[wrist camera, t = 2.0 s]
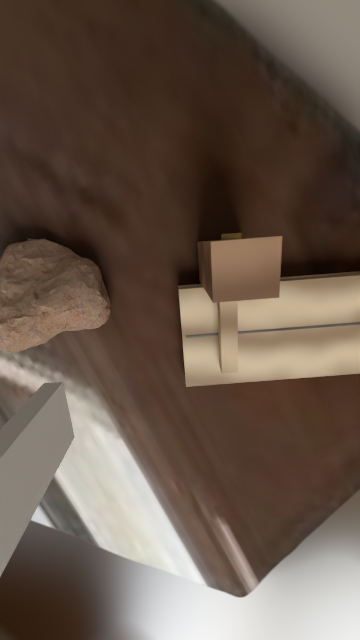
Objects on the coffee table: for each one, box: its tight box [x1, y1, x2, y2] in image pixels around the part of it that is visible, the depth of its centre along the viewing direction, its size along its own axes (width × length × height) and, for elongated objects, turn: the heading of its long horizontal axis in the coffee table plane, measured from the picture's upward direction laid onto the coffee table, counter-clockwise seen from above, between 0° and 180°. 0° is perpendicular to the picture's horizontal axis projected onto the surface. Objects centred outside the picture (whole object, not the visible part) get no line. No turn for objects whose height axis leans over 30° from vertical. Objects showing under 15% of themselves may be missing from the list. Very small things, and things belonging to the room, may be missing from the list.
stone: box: [0, 239, 111, 353], centre depth 26 cm, size 12×9×10 cm
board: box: [178, 271, 360, 387], centre depth 29 cm, size 12×24×3 cm, turn 94°
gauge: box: [198, 233, 282, 373], centre depth 24 cm, size 15×5×10 cm, turn 4°
